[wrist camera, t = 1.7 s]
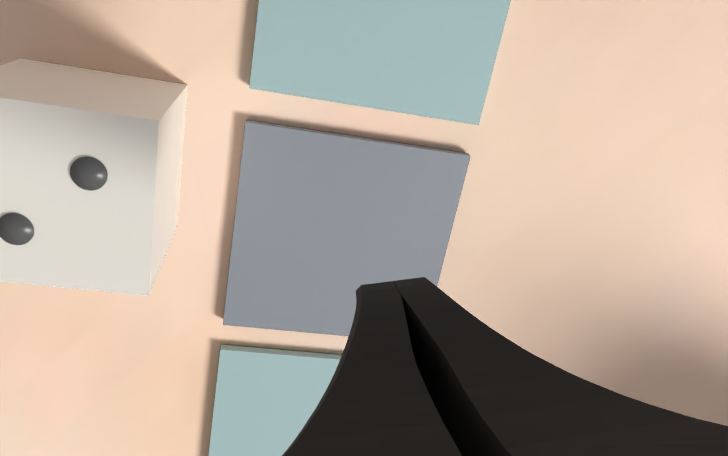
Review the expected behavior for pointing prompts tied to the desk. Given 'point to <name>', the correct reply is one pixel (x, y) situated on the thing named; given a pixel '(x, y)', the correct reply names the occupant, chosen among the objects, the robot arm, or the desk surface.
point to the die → (87, 176)
